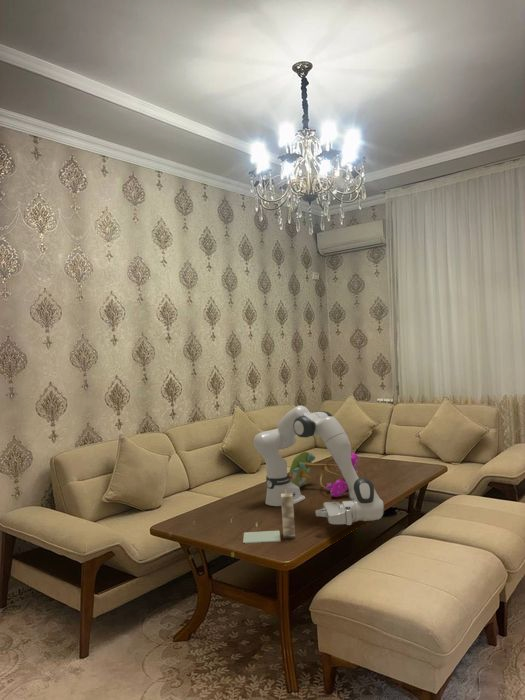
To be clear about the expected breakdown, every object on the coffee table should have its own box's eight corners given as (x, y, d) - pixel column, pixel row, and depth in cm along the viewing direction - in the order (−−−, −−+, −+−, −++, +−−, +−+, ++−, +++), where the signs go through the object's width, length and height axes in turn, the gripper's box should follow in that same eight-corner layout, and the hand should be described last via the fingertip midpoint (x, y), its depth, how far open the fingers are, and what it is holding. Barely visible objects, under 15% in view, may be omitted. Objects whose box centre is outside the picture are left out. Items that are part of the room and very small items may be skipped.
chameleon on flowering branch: (309, 434, 312) (365, 445, 294) (311, 476, 320) (365, 489, 302) (284, 456, 288) (344, 470, 270) (287, 501, 296) (345, 518, 278)
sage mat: (279, 531, 236) (279, 530, 236) (280, 541, 224) (280, 540, 224) (244, 533, 236) (243, 532, 236) (243, 543, 224) (243, 542, 224)
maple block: (294, 533, 232) (292, 493, 232) (295, 537, 227) (292, 496, 227) (283, 534, 232) (280, 493, 232) (283, 538, 227) (281, 497, 227)
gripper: (342, 497, 240) (312, 499, 240) (350, 511, 220) (317, 513, 220) (343, 511, 240) (313, 512, 240) (351, 526, 220) (318, 528, 220)
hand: (315, 513), depth 230 cm, fingers closed
